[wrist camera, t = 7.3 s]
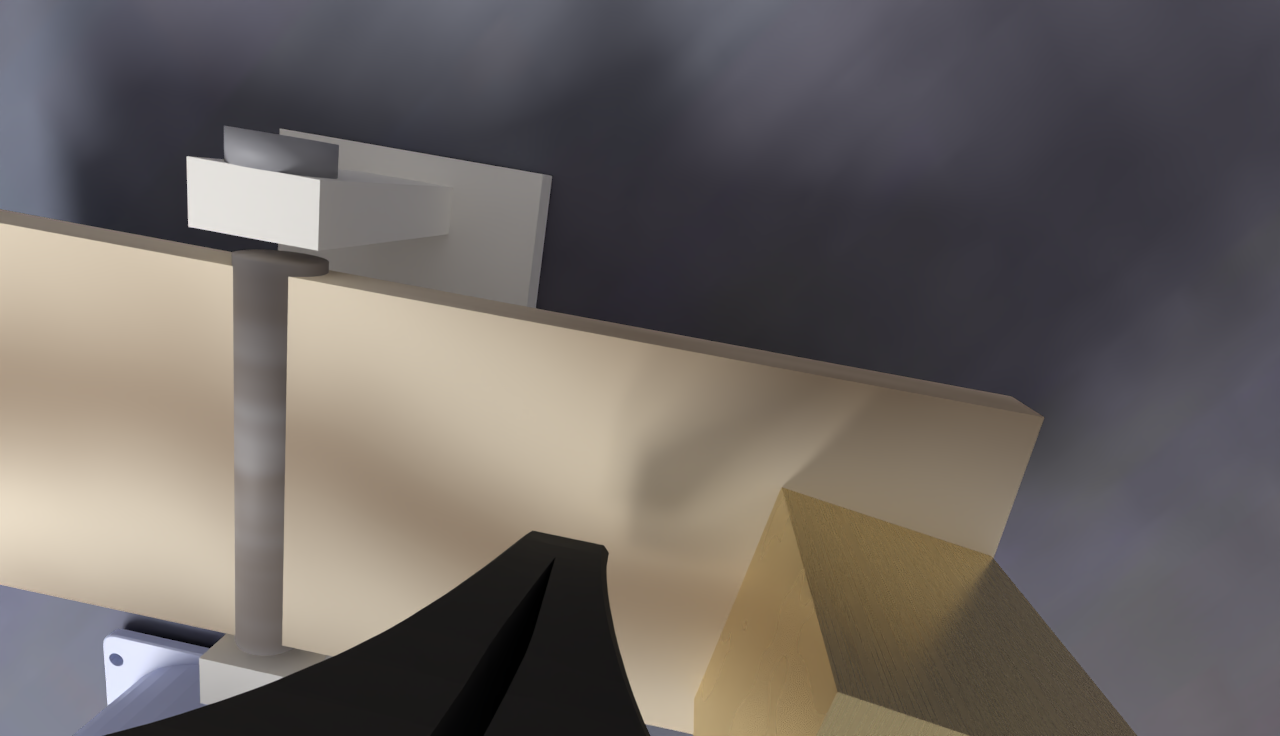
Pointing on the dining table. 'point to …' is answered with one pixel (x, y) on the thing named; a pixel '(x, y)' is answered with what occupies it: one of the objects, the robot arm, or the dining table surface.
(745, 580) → the rider
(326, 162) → the stand
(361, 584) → the beam
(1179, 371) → the dining table surface
